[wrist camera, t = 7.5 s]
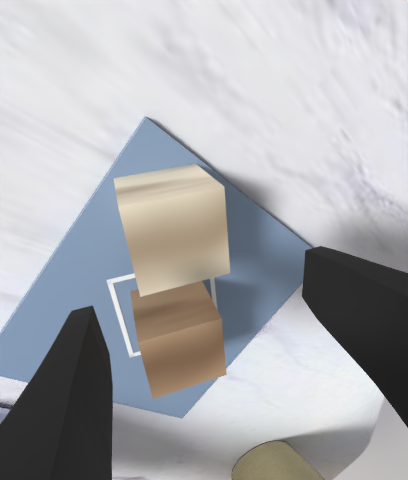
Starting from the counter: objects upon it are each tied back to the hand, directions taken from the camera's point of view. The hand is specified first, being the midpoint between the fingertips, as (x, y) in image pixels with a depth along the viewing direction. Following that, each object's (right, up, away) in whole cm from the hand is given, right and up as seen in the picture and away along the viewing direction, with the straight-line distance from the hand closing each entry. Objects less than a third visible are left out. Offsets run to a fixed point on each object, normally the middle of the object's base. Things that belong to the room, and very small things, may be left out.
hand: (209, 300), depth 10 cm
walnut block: (-3, -3, +11) cm, 11 cm away
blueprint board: (-3, -2, +11) cm, 12 cm away
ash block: (-3, +4, +7) cm, 9 cm away
